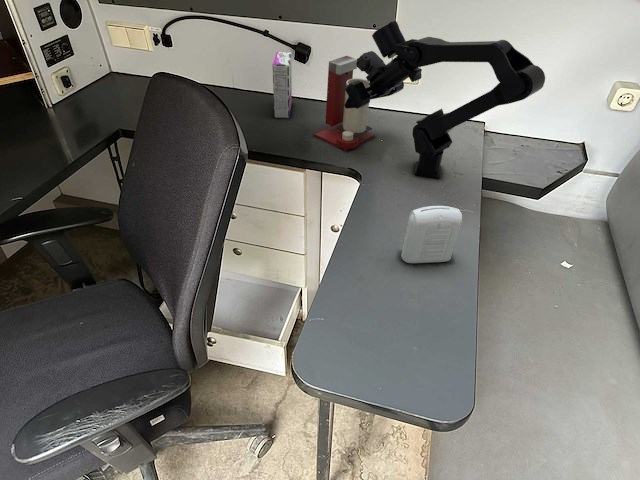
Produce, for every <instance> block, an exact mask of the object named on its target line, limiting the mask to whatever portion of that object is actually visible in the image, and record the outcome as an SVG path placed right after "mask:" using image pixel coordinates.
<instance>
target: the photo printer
mask: <svg viewBox="0 0 640 480" xmlns="http://www.w3.org/2000/svg"><path fill="white" fill-rule="evenodd" d="M462 223H463V214H462V212H461V211H460V209H459V208H456V207H453V206H447V205H430V206H422V207H419V208H416V209H413V210H411V211H410V213H409V216H408V222H407V225H406V229H405V230H406V231H405V234H404V240H403V243H402V249H401V255H400V257H401V259H402V260H403V261H404V262H405V263H407V264H425V263H426V264H429V263H444V262H449V261H451V258H452V255H453V253H454V248H455V245H456V243H457V240H458V236H459V233H460V229H461V226H462Z"/></svg>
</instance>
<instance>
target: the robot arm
mask: <svg viewBox="0 0 640 480" xmlns="http://www.w3.org/2000/svg"><path fill="white" fill-rule="evenodd" d="M371 37H372V39H373V41H374V43H375V45H376V47H377V48H378V51H379V53H380V55H381V56H382V58H383V59H385V58H387V59H388V60H389V59H391V60H390V61H389V62H388V63H387V64H386V63H385V62H384V60H383V59H382V58H381V57H380V56H379V55H378V54H377V53H376V52H375V51H373V50H370V51H367V52H363V53H362V54H361V55H360V56H359V57H357V58H356V59H357V63H356V66H357V69H358V70H359V71H360V72H361V73H362V72H364V73H365V74H366V75H367V76H365V78H366V79H365V80H368V81H369V82H370V83H369V85H370V87H368V88H365V86H364V84H363V82H362V81H359V80H358V81H355V82H353V83H350V84H349V85H347V86H346V87H345V90H346V92H347V94H348V96H349V97H348V99H347V101H346V103H345V105H344V106H345V108H346V109H349V108H356V109H358V108H361V107H363V106H365V105H367V104H368V103H369V104H370V103H371V100H375V99H380V98H385V97H390V96H393V95H395V94H398V93H399V92H401V91H402V90H404V87H405V83H404V81H406V80H407V79H408V78H409V80H410V82H411V83H415V82H416V81H419V80H421V79H422V76H423V75H422V71H423V69H422V68H423V67H427V66H431V65H435V64H439V63H488V64H489V65H490V67H491V68H492V70H493V73H494V75H495V77H496V80H497V81H498V82H499V83H497V84H496V85H495V86H494V87H493V88H492V89H491V90H489V91H487V92H485V93H484V94H482V95H480V96H478V97H476V98H474V99H472V100H470V101H469V102H466V103H465V104H463V105H460V106H459V107H457V108H455V109H453V110H451V111H449V112H445V113H444V110H443V108H440V109H437V110H436V111H434V112H432V113H430V114H427V115H426V116H425V117H422V118H421V119H419V120H416V121H415V123H416V124H415V125H414V126H413V128H412V131H411V132H412V138H413V143H414V151H415V153H417V154H419V156H418V160H417V161H415V168H414V175H415V176H419V177H424V178H425V177H426V178H433V179H441V174H442V173H441V170H442V166H441V165H442V161H443V160H442V159H443V156H444V151H445V150H447V149H449V148H450V147H451V145H452V144H453V139H452V138H451V136H450V134H449V132H451V131H452V130H453V129H454V128H455V127H457V126H460V125H462V124H463V123H466V122H468V121H469V120H472V119H473V118H476V117H478V116H480V115H482V114H484V113H486V112H487V111H491V110H492V109H495V108H496V107H498V106H504V105H510V104H514V103H517V102H520V101H523V100H525V99H527V98H528V97H530V96H532V95H533V94H536V93H537V92H539V91H541V90H542V88H543V87H544V86H545V82H546V75H545V74H546V73H545V71H544V70H543V69H542V68H541V67H540V66H538V65H535V64H534V63H533V61H531V59H530V58H529V57H527V56H526V55H525V54H523V53H522V52H520V51H519V50H517V49H516V48H515V47H514V46H513V45H512V44H511V42H510V41H508V40H506V39H499V40H489V41H488V40H485V41H447V40H444V39H442V38H438V37H432V36H426V37H423V38H420V39H417V38H416V39H415V38H411V39H408V40H406V39H405V37H404V35H403V33H402V31H401V29H400V25H399V24H398V21H397V20H393V21H390V22H389V23H388V24H386V25H384V26H382V27H380V28H378V29H377V30H375V31H374V32H373V33H372V34H371Z"/></svg>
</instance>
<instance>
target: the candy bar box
mask: <svg viewBox="0 0 640 480" xmlns="http://www.w3.org/2000/svg"><path fill="white" fill-rule="evenodd" d="M292 83H293V81H292V52H291V51H275V55H274V59H273V62H272V88H273V91H272V92H273V118H275V119H290V116H291V110H292V104H293V102H292V101H293V99H292V97H293V93H292V89H293V88H292Z"/></svg>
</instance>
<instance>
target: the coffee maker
mask: <svg viewBox="0 0 640 480" xmlns="http://www.w3.org/2000/svg"><path fill="white" fill-rule="evenodd" d="M342 124H343V122H341V123H339V124H337V125H335V126H333V127H332V126H329V127H327V128H325V129H322V130H320V131H318V132H315V133H314V137H316V138H318V139H320V140H322V141H324V142H326V143H328V144H331V145H332V146H334V147H337V148H340V149H342V150H343V151H345V152H347V151H350V150H351V149H355V148H357V147H358V146H359V145H361V144H363V143H365V142H366V141H368V140H370V139H373V138H374V135H373V134H371V133H369V132H368V131H367V132H365V133H363V134H361V135H359V136H357V137H355V136H353V140H352V141H345V140H342V135H343V132H344V131H341V130H339V129H337V128H336V127H338V126H340V125H342Z"/></svg>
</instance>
